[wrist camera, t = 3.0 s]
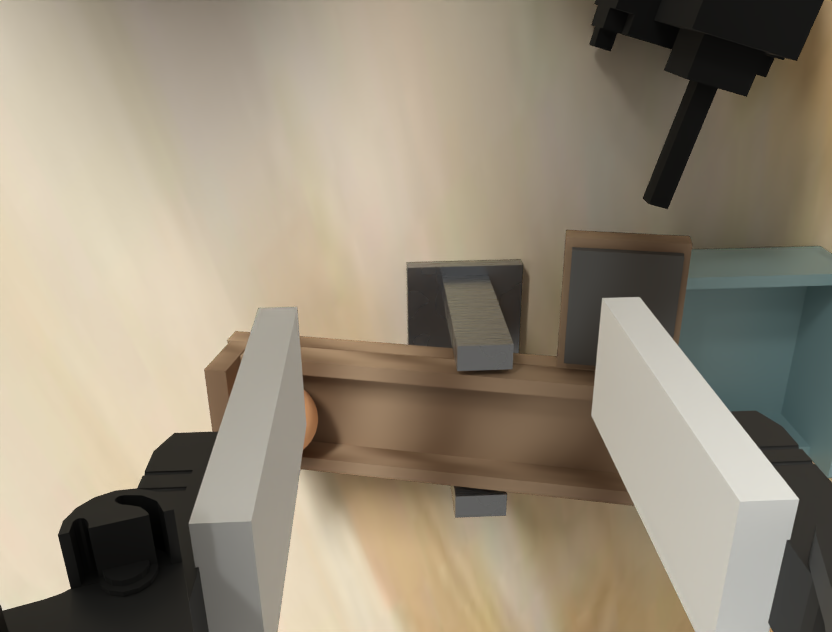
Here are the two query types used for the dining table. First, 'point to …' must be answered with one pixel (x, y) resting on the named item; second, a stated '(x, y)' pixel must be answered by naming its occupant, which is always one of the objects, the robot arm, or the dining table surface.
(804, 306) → the tray
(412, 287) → the stand
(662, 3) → the toy
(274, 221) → the dining table surface
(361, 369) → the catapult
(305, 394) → the ball
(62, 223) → the dining table surface
